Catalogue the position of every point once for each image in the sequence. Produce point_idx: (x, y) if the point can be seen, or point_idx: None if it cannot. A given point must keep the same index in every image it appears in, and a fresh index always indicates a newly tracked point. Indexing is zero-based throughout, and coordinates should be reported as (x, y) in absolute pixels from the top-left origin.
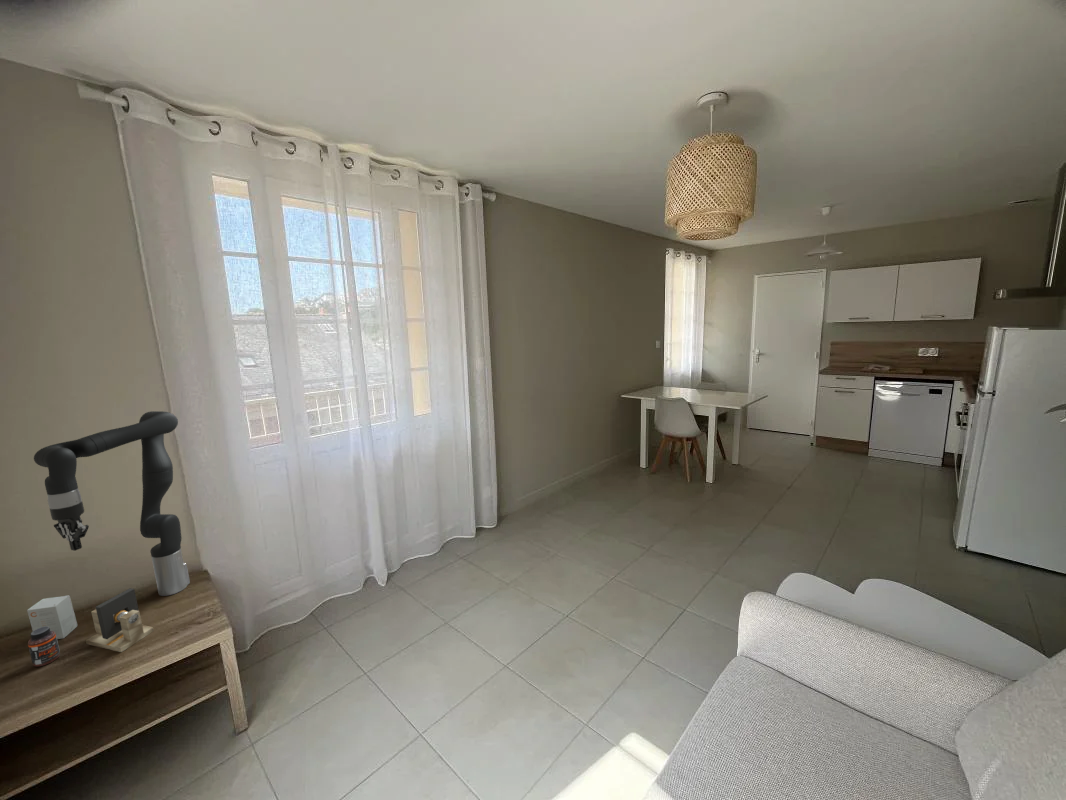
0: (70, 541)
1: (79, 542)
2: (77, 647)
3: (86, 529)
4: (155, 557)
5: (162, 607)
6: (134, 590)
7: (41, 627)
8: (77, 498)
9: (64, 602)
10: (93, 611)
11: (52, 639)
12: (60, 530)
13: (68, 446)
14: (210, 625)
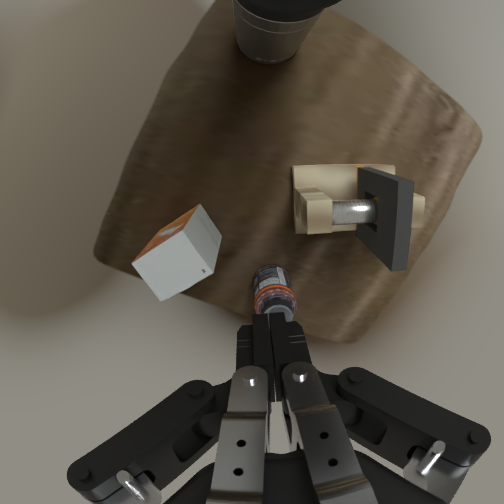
0: (276, 399)
1: (307, 354)
2: (287, 242)
3: (457, 424)
4: (294, 21)
5: (325, 96)
6: (410, 180)
7: (267, 312)
8: None
9: (197, 245)
10: (313, 232)
11: (294, 295)
12: (173, 477)
13: None
14: (468, 132)
